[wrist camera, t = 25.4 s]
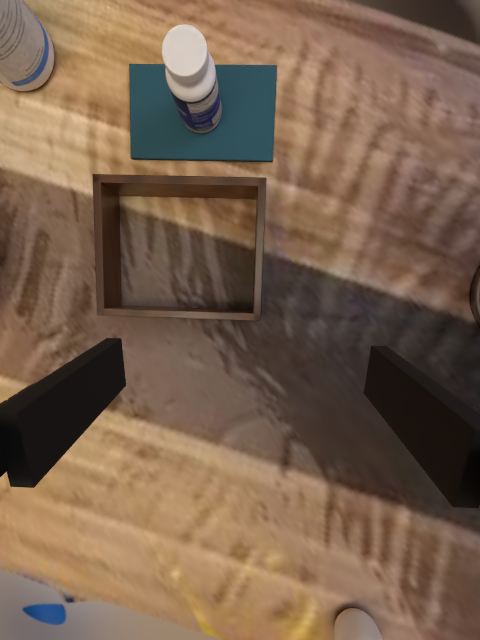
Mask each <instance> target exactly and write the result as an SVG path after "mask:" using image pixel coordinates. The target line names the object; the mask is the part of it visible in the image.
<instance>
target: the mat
mask: <svg viewBox="0 0 480 640" xmlns="http://www.w3.org/2000/svg"><path fill="white" fill-rule="evenodd" d="M165 69H166V66H165V64H129V71H130V133H131V158H132V159H140V160H194V161H248V162H272V161H273V141H274V118H275V95H276V72H277V65H215V69H216V75H217V81H218V88H219V94H220V100H221V106H222V113H221V118H220V121H219V123H218V124H217V125H216V127H215V128H214V129H212V130H211V131H209V132H206V133H196V132H193V131H191V130H190V129H189V128H188V127H187V126H186V125H185V124H184V122H183V120H182V118H181V116H180V113H179V111H178V108H177V106H176V103H175V101H174V98H173V96H172V93H171V91H170V89H169V86H168V83H167V80H166V72H165Z"/></svg>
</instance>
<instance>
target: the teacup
mask: <svg viewBox="0 0 480 640" xmlns="http://www.w3.org/2000/svg"><path fill="white" fill-rule="evenodd" d="M334 638H335V640H383V639H382V636H381V634H380V632H379V630H378V628H377V626H376V624H375V622H374V621H373V619H372V618H371V617H370V616H369V615H368V614H367V613H365V612H364V611H362V610H360V609H356V608H348V609H345V610H344V611H342V612H341V613H340V614H339V615H338V617H337V619H336V622H335V626H334Z"/></svg>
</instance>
